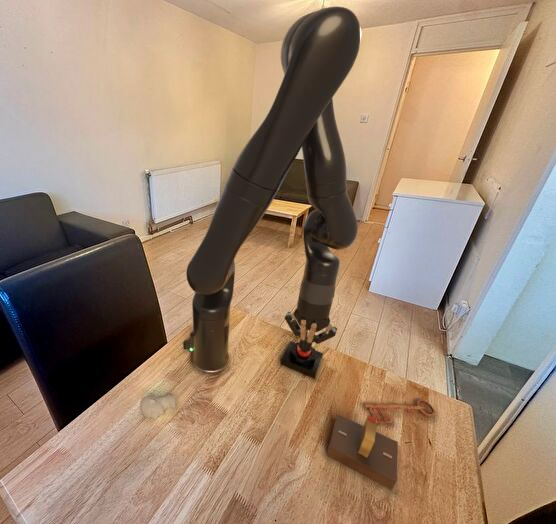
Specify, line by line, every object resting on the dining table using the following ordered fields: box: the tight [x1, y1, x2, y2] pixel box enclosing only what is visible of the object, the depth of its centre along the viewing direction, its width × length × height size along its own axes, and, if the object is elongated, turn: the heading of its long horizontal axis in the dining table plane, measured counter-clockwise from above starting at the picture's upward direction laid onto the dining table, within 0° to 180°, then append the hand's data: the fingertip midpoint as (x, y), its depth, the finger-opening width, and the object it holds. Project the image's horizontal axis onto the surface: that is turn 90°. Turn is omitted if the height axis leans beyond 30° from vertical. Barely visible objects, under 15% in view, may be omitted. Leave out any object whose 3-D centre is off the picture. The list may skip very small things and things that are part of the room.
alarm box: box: [280, 340, 324, 380], centre depth 76 cm, size 9×8×4 cm
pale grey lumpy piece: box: [139, 392, 177, 420], centre depth 63 cm, size 4×8×5 cm
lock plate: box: [326, 413, 399, 491], centre depth 55 cm, size 11×8×3 cm
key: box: [363, 399, 436, 424], centre depth 64 cm, size 6×1×15 cm
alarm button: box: [296, 345, 311, 357], centre depth 75 cm, size 4×4×2 cm
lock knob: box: [358, 414, 378, 457], centre depth 53 cm, size 5×2×5 cm, turn 147°
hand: (304, 349), depth 75 cm, fingers closed
